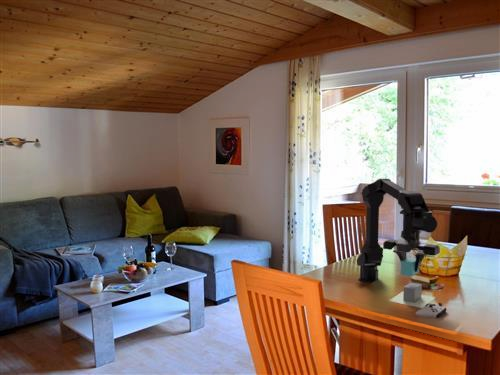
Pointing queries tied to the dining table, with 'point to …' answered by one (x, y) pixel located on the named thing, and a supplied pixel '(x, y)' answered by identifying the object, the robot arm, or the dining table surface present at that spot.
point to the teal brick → (408, 267)
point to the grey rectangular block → (412, 292)
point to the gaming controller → (432, 310)
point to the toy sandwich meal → (427, 282)
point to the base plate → (419, 303)
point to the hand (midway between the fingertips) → (410, 270)
